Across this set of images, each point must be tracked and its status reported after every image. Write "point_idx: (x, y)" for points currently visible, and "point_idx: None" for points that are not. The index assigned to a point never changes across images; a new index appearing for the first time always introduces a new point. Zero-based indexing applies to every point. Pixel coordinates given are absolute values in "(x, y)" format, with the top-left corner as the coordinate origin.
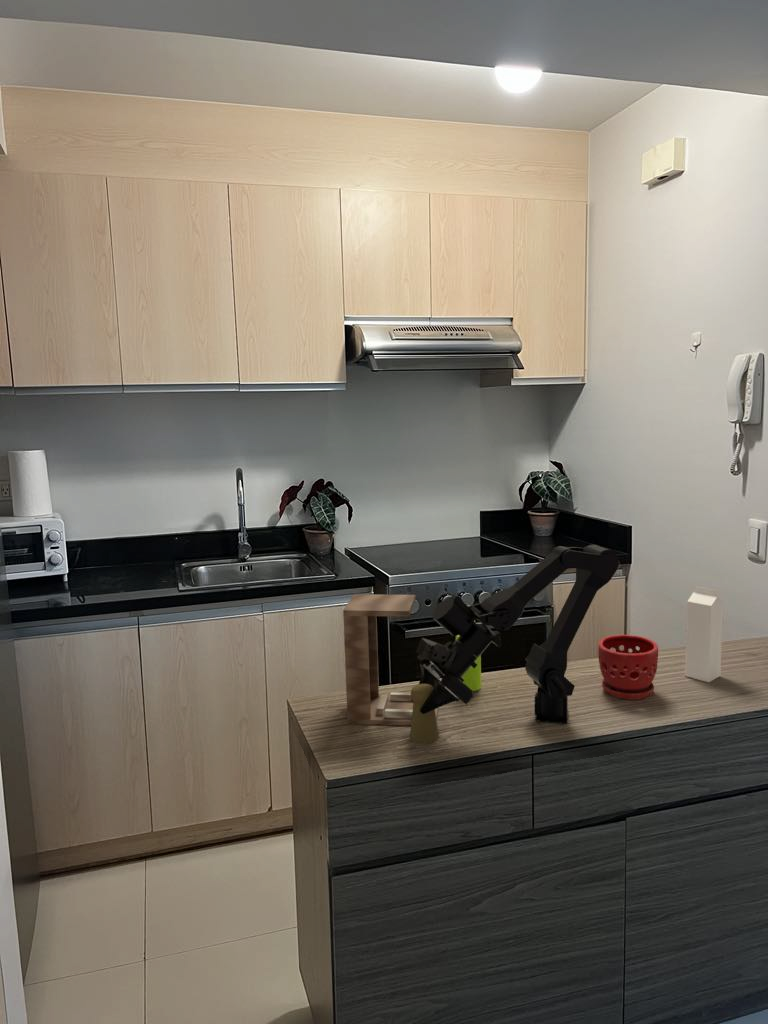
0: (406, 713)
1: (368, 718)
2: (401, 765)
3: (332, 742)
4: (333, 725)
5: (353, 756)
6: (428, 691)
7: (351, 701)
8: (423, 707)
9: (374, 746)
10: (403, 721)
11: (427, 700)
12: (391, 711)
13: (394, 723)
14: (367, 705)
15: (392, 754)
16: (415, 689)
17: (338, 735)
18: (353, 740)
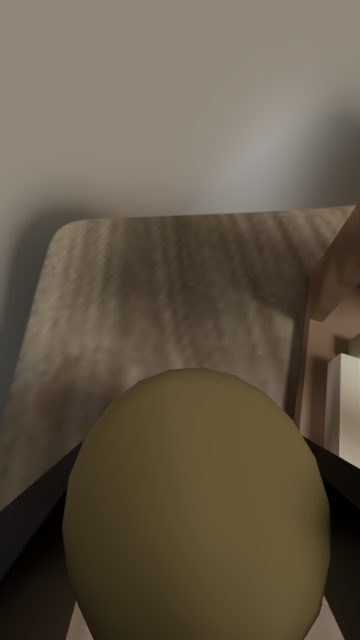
0: (335, 437)
1: (312, 311)
2: (21, 355)
3: (208, 239)
4: (299, 250)
5: (125, 264)
6: (75, 535)
7: (343, 235)
8: (71, 451)
9: (161, 312)
10: (299, 422)
11: (38, 489)
12: (340, 376)
13: (299, 392)
14: (335, 283)
15: (96, 345)
16: (162, 386)
17: (242, 252)
18: (208, 275)
